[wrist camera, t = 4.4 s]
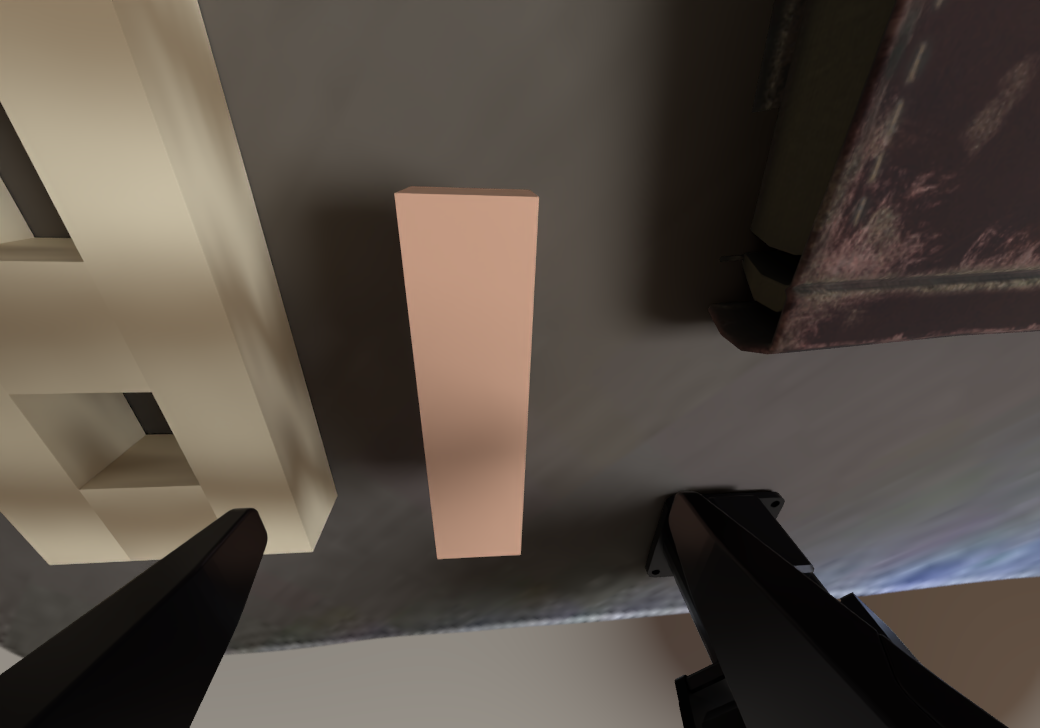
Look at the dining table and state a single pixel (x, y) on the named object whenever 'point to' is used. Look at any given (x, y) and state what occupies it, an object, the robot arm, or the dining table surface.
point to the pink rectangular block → (471, 356)
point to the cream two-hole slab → (141, 299)
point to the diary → (895, 175)
